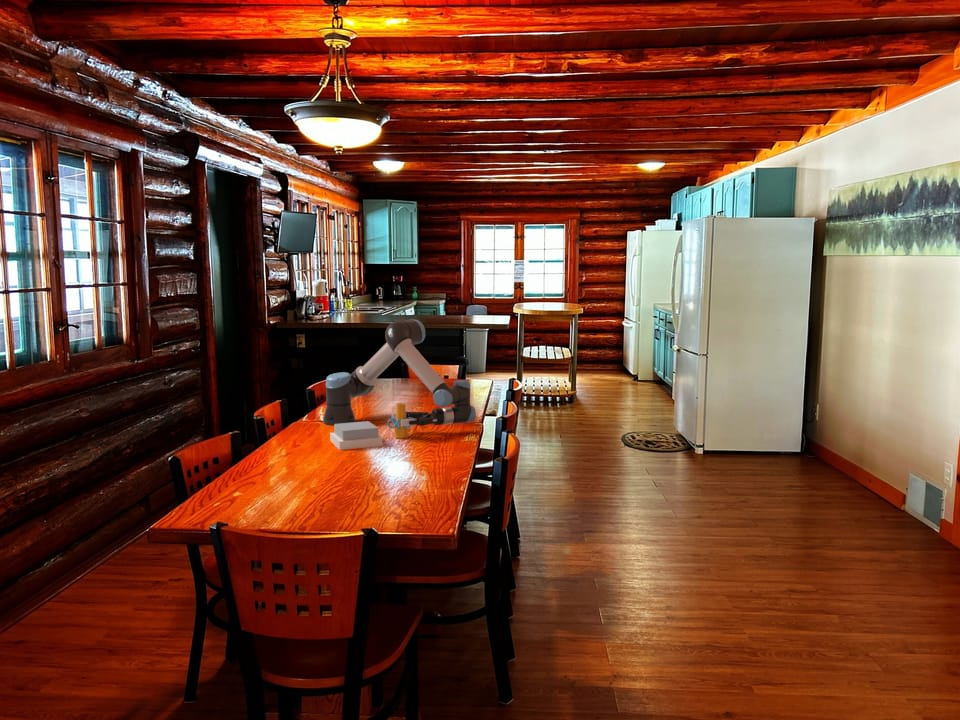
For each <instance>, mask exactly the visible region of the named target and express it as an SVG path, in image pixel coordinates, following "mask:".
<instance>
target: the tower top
mask: <svg viewBox="0 0 960 720" xmlns="http://www.w3.org/2000/svg"><path fill="white" fill-rule="evenodd" d="M333 426H334V427H333V428H334V431H333V432H334V433H335V434H336V435H337V436H338V437H339V438H341V439H342V440H354V439H365V438H376V437H378V435H379V427H378V426H376V425H375V424H373V423H372V422H371V421H368V420H367V421H355V422H353V423H341V424H334V425H333Z"/></svg>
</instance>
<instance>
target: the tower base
mask: <svg viewBox="0 0 960 720" xmlns="http://www.w3.org/2000/svg"><path fill="white" fill-rule="evenodd" d="M329 440H330V442H331V443H332V444H333V445H334V446H335V447H336V448H337V449H338V450H340V451H342V450H352V449H363V448H365V449H366V448H374V447H383V437H382V435H381V436H380V435H379V434H378V437H376V438H365V439H354V440H342V439H341V438H339V437H338V436H337V435H336V434H335V433H334V431H333V432H329Z"/></svg>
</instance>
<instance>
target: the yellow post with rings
mask: <svg viewBox="0 0 960 720" xmlns="http://www.w3.org/2000/svg"><path fill="white" fill-rule="evenodd" d="M395 405H396V406H395V414H396V416H395V417H393V418H392V417H391V418H390V419H388V420H387V427H388V428H389V429H393V431H394V434H393V436H394V438H395V439H400V440H401V439H407V438H409V429H410V428H411V427H413V426H414V425H412V426H401V420H405V419H406V414H405V413H406V403H405V402H397V403H395ZM394 418H396V420H395V419H394ZM407 419H413V418H412V417H408V418H407ZM390 422H392V426H391V424H390Z"/></svg>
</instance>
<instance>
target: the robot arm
mask: <svg viewBox="0 0 960 720" xmlns="http://www.w3.org/2000/svg"><path fill="white" fill-rule="evenodd" d="M384 336H385V337H384V338H385V341H386V343H384V344H383V345H382V347H381V348H379V350H378V351H377V352H376V353H375V354H374V355H372V357H371V358H370V359H369V360H368V361H367V362H366V363H365V364H364V365H363V366H362V365H360V366H358V367H356V369H355V370H354V371H353V372H352V373H349V372H347V371H346V372H345V371H342V372H336V373H335V372H334V373H332V374H329V375H328V376H326V379H325V398H326V399H325V400H326V401H325V402H326V406H325V407H326V408H325V411H324V414H323V419H322V423H323V424H324V425H329V426H334V424H341V423H353V422H356V416H355V414H354V410H353V407H352V398H357V397H364V396H367V395H369V394H370V393H371V392H373V391H374V388H375V384H376V382H377V378H378V377H379V376H380V375H381V374H382V373H384V372H385V370H386V369H388V367H389V366H390V365H391V364H392V363H393V362H394V361H396V360H397V358H398V357H401V359H402V360H403V361H404V362H405V364H406V365H407V366H408V367H409V368H410V369H411V371H412V372H413V373H414V374H415V375H416V377H418V379H419V380H420V381H421V382H422V383H423V384H424V385H425V387H426V388H427V389H428V390H429V392H430V393H432V395H433V396H432V397H433V398H432V400H433V403H434V404H435V405H436V406H437V408H432V410H431V412H430V413H429V412H428V411H405V414H406V419H405V420H401V426H407V427H408V426H411V427H413V426H419V427H423V426H427V425H431V424H433V425H434V426H442V425H446V426H450V425H452V424H467V423H472V422H474V421H475V420H476V415H477V412H476V409H475V406H474V405H472V404H471V382H470V381H469V380H467V379H466V380H465V379H457V380H454V381H453V386H450V387H449V384H447V383H446V382H445V381H444V379H443V378H442V377H441V375H439V374H438V373H437V371H436V370H435V369H434V368H433V367H432V366H431V364H430V363H429V362H428V360H426V358H424V356H423V355H422V354H421V352H420V351H419V350H418V349H417V348H416V347H415V345H419V344H421V343H423V341H424V340H425V338H426V328H425V326H424V324H423V323H422V322H421V321H420V320H418V319H413V318H410V319H404V320H395V321H393V322H391V323H390V324H389V325H388V326H387V327H386V330H385V335H384ZM452 405H453V406H452ZM448 406H449V407H448ZM395 416H396V413H391V419H392V418H393V417H395ZM408 417H412V418H413V419H407V418H408ZM394 419H395V420H396V418H394ZM412 425H413V426H412Z"/></svg>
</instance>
